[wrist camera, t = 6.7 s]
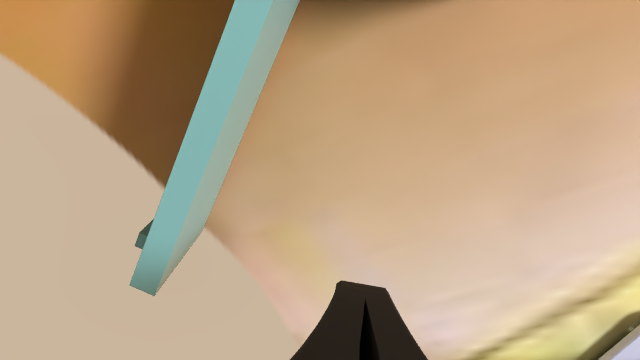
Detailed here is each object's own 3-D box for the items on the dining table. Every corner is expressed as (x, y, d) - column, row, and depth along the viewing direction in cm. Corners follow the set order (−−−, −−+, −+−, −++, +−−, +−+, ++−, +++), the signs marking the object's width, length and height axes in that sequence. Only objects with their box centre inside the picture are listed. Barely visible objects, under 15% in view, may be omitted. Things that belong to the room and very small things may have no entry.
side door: (294, -91, 13) (265, -139, 9) (332, -70, 13) (321, -110, 9) (173, 218, 17) (116, 279, 13) (204, 232, 17) (157, 297, 13)
